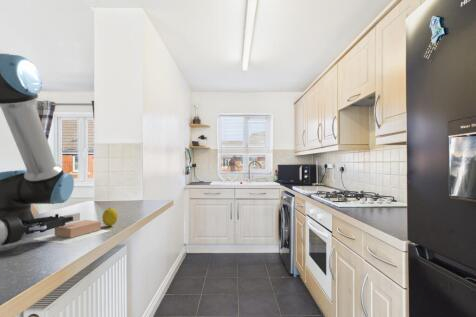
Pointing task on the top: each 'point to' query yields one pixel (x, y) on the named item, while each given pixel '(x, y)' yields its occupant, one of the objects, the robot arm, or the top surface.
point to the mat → (68, 240)
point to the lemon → (109, 217)
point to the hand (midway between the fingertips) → (78, 216)
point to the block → (77, 228)
